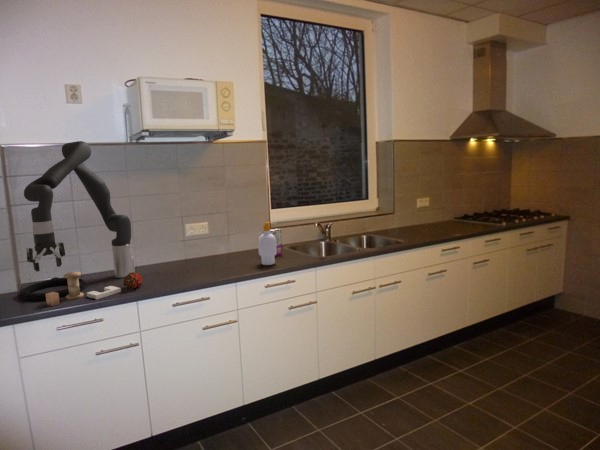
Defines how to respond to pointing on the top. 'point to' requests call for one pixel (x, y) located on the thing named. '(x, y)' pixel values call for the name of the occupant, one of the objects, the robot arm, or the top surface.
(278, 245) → the candy bar box
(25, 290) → the cable lock
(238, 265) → the top surface
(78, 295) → the bobbin
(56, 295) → the brown wooden block
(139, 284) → the dragon fruit
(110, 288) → the notch board
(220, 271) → the top surface
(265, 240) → the soap bottle
